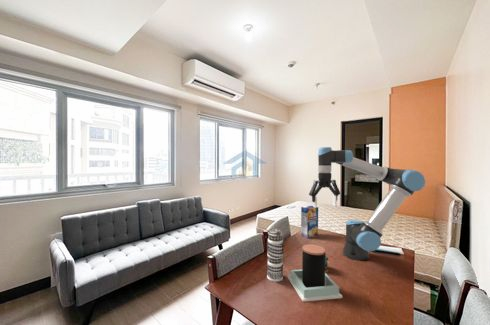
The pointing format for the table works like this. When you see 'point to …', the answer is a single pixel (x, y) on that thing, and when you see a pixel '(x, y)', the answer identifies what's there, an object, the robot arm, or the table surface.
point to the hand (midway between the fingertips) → (324, 206)
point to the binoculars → (326, 263)
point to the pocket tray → (314, 288)
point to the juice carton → (309, 221)
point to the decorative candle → (275, 255)
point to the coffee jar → (313, 266)
